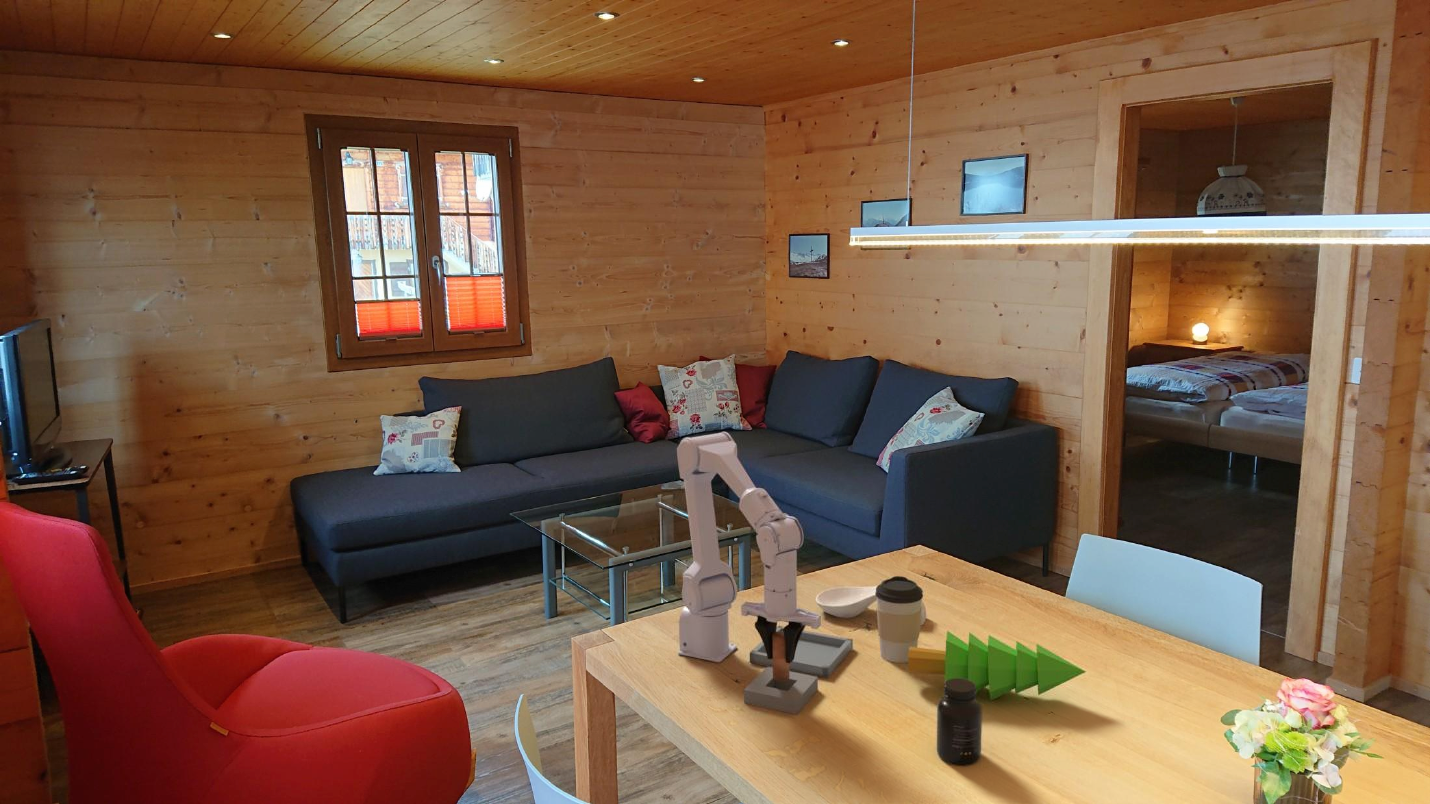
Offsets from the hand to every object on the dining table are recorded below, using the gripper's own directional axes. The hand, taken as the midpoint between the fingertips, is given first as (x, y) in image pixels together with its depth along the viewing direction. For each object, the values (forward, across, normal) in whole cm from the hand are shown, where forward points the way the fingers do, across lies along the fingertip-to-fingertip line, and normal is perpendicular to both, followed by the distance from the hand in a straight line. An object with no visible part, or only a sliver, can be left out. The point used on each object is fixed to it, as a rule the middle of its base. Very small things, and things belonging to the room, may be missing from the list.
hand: (780, 658), depth 169 cm
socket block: (+7, 0, 0) cm, 7 cm away
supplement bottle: (+7, +33, -6) cm, 34 cm away
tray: (+7, -3, +17) cm, 19 cm away
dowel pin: (+3, 0, 0) cm, 3 cm away
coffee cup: (+7, +14, +25) cm, 30 cm away
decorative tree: (+7, +34, +16) cm, 38 cm away
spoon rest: (+8, +3, +42) cm, 42 cm away
